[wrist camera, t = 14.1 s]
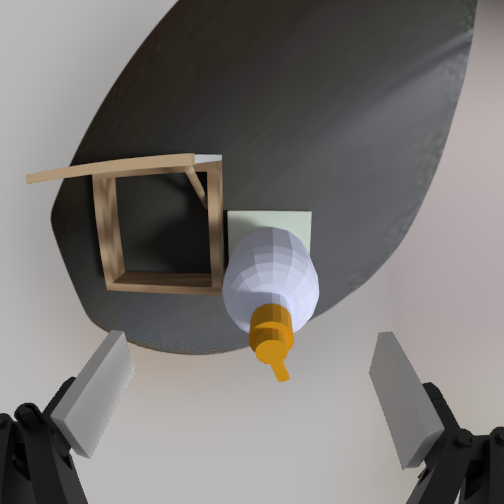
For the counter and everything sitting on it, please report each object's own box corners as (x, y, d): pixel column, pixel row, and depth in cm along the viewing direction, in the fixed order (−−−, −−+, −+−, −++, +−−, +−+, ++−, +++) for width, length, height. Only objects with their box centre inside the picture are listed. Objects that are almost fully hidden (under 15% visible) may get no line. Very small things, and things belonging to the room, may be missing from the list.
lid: (106, 163, 42) (26, 175, 24) (223, 154, 41) (191, 153, 23) (107, 169, 42) (26, 184, 24) (223, 161, 41) (191, 165, 23)
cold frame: (108, 166, 42) (64, 172, 31) (221, 157, 41) (205, 158, 30) (120, 277, 48) (86, 310, 36) (225, 280, 47) (213, 320, 36)
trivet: (228, 210, 43) (227, 211, 43) (310, 210, 43) (311, 211, 42) (230, 285, 47) (230, 287, 46) (306, 286, 47) (307, 288, 46)
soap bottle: (249, 291, 46) (234, 408, 24) (224, 231, 44) (179, 315, 21) (313, 270, 45) (350, 378, 22) (291, 207, 42) (319, 270, 19)
